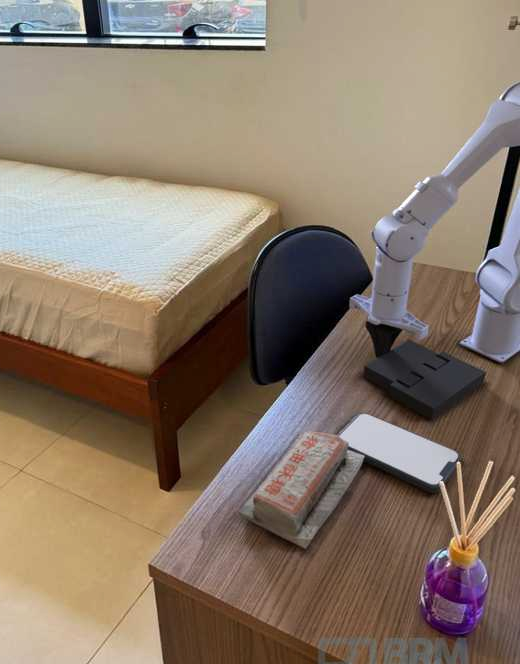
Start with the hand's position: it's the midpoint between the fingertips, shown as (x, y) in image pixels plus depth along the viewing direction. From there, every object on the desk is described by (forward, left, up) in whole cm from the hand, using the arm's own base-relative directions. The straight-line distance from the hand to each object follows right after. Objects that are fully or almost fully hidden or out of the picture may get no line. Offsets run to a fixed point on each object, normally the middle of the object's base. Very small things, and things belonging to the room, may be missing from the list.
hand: (381, 356), depth 107 cm
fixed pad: (0, +11, -1) cm, 11 cm away
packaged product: (+32, +12, -1) cm, 34 cm away
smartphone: (+17, +16, -1) cm, 23 cm away
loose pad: (0, +5, -1) cm, 5 cm away
